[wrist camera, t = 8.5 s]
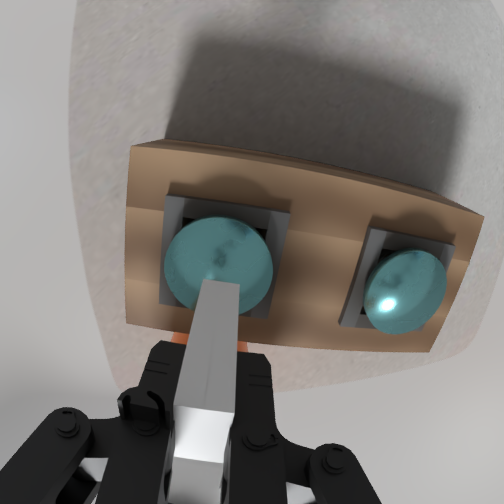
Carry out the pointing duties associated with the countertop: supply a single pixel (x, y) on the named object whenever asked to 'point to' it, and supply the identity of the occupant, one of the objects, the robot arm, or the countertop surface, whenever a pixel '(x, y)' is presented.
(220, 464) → the shaker bottle
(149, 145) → the socket block
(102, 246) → the countertop surface
